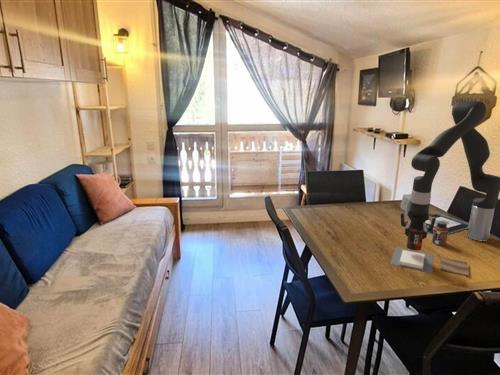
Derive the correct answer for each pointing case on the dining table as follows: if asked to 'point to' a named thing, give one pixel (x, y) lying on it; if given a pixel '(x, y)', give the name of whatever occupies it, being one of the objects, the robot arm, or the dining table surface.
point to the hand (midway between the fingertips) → (415, 236)
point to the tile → (412, 259)
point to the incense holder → (406, 202)
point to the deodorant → (415, 233)
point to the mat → (426, 267)
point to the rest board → (454, 266)
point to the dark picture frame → (451, 223)
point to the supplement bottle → (440, 234)
